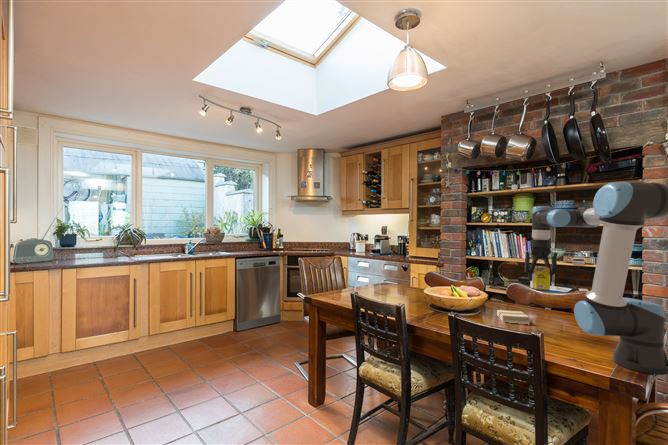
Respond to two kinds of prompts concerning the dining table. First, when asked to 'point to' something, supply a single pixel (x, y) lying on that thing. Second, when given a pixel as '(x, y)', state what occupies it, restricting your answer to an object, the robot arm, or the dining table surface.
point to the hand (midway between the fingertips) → (540, 287)
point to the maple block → (513, 317)
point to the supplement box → (541, 278)
